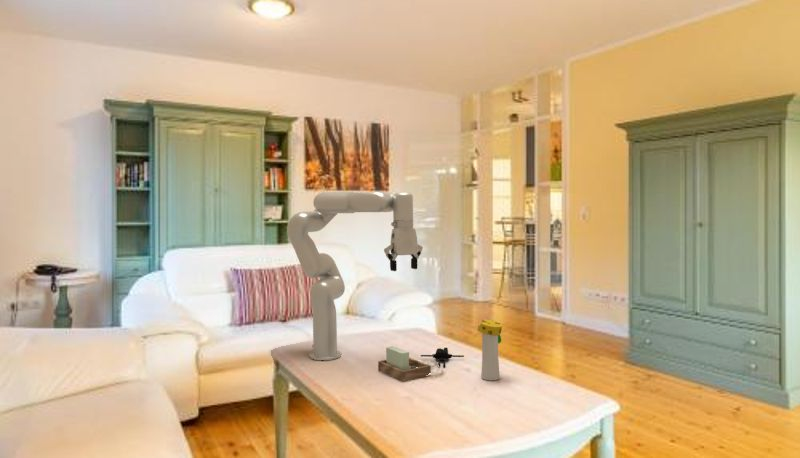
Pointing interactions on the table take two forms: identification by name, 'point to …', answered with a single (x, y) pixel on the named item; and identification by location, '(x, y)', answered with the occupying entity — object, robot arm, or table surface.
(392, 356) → the light green rectangular block
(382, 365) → the brown wooden shallow tray
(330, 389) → the table surface
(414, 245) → the robot arm
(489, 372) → the toy
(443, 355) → the toy
